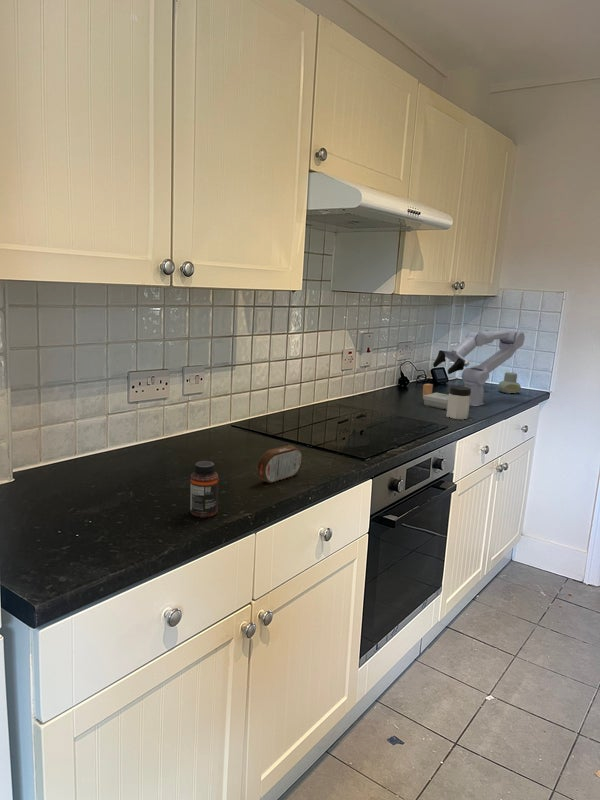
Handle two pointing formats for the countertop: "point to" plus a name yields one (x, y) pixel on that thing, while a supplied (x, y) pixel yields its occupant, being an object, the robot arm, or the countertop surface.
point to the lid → (434, 394)
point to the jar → (458, 402)
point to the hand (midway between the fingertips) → (441, 368)
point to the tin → (279, 463)
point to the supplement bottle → (204, 490)
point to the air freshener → (509, 383)
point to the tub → (435, 404)
